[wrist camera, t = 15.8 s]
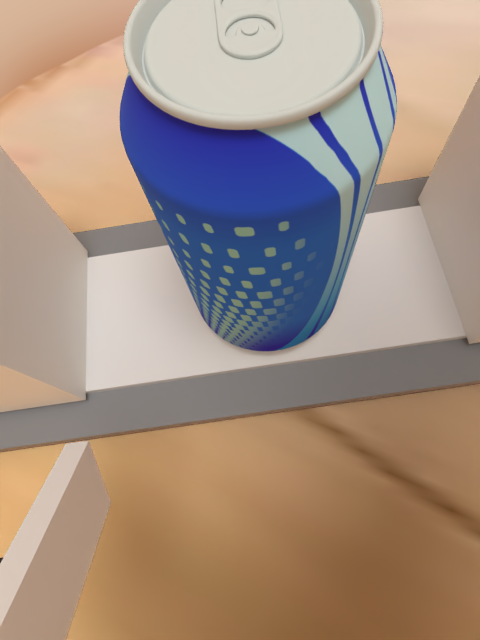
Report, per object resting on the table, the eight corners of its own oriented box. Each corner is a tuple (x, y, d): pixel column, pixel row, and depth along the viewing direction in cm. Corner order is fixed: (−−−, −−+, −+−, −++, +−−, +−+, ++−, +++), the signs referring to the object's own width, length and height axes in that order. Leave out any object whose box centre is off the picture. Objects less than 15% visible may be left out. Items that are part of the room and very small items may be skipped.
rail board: (516, 173, 29) (661, -13, 18) (607, 365, 24) (890, 267, 13) (-10, 256, 30) (-172, 129, 19) (-32, 456, 25) (-273, 438, 14)
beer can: (361, 272, 25) (481, -29, 10) (288, 386, 23) (308, 213, 8) (247, 213, 27) (211, -103, 13) (171, 312, 25) (19, 72, 10)
